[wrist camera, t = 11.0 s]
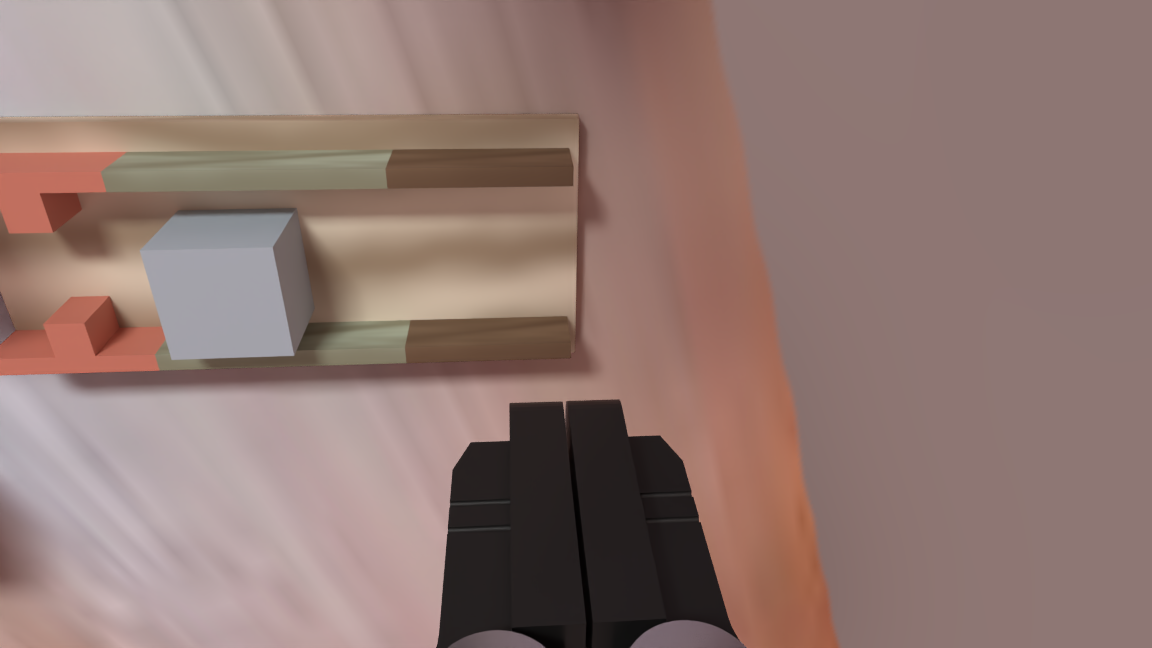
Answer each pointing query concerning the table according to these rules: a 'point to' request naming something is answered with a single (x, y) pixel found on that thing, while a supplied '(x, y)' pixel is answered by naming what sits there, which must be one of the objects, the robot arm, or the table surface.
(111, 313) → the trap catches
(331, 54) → the table surface
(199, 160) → the track
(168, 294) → the slate block
